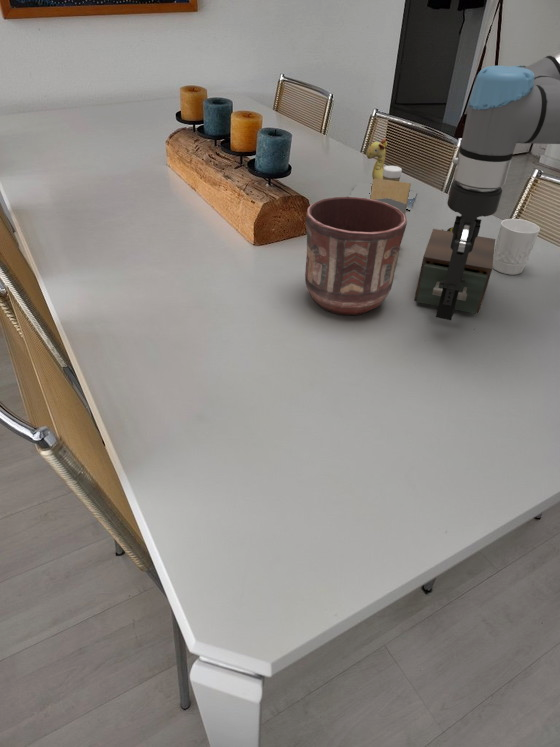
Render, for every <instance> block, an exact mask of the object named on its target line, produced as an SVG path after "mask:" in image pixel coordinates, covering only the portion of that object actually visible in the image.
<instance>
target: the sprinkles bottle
mask: <svg viewBox="0 0 560 747" xmlns="http://www.w3.org/2000/svg"><path fill="white" fill-rule="evenodd" d="M402 172H403V169H402V167H400V166H397V165H384V166H383V180H392V181H399V182H400V181H401V177H402V174H403V173H402Z"/></svg>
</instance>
